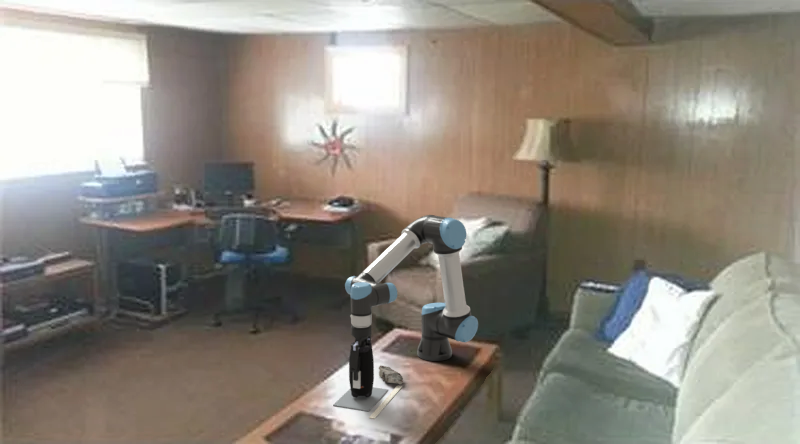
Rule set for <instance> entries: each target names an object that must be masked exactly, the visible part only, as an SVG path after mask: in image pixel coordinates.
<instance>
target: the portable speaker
mask: <svg viewBox="0 0 800 444" xmlns="http://www.w3.org/2000/svg"><path fill="white" fill-rule="evenodd" d="M354 342H355V341H354ZM354 342H351V344H350V346H351V345H354ZM359 357H360V370H359V371H361V388H360V389H358V388H353V372H351V371H350V365H351V349H350V351H349V358H348V379H349V380H348V381H349V387H350V388H351V395H352V396H353V397H356V398H357V397H358V396H365V397H370V396H371V395H372V389H373V387H374V379H375V369H374V368H375V365H374V364H375V363H374V353H373V346H372V342H371V343H370V342H368V345H365V347H359ZM350 388H349V389H350Z"/></svg>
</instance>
